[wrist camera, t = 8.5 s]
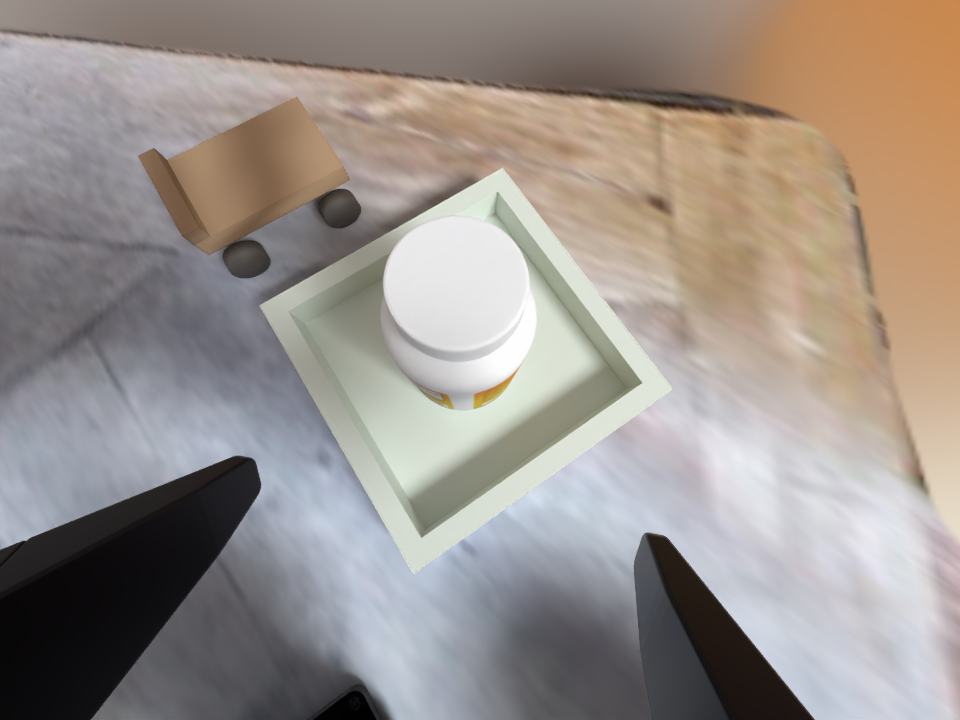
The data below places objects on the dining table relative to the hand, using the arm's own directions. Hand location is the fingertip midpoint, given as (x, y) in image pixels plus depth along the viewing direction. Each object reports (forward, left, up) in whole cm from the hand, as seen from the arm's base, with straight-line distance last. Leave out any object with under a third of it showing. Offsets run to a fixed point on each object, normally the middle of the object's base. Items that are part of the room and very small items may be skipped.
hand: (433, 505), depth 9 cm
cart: (0, +18, -11) cm, 21 cm away
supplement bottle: (+3, +4, -10) cm, 12 cm away
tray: (+4, +5, -11) cm, 12 cm away
